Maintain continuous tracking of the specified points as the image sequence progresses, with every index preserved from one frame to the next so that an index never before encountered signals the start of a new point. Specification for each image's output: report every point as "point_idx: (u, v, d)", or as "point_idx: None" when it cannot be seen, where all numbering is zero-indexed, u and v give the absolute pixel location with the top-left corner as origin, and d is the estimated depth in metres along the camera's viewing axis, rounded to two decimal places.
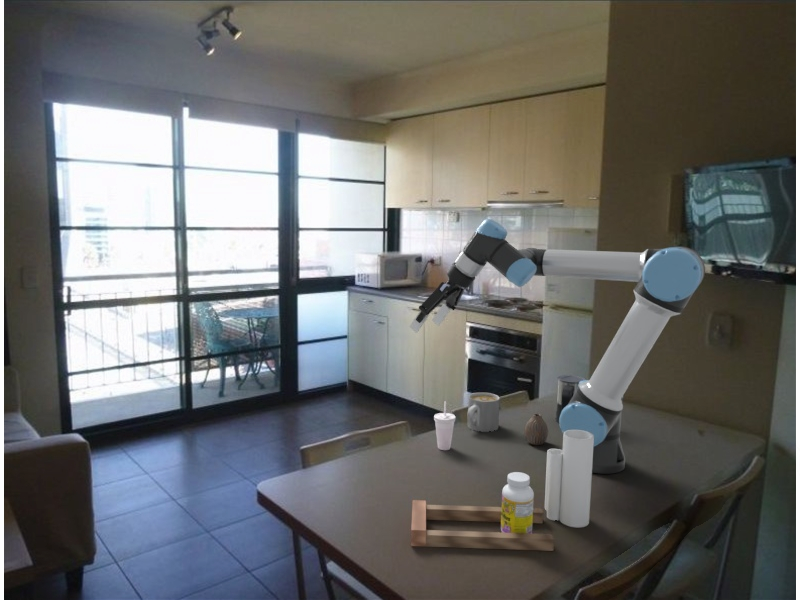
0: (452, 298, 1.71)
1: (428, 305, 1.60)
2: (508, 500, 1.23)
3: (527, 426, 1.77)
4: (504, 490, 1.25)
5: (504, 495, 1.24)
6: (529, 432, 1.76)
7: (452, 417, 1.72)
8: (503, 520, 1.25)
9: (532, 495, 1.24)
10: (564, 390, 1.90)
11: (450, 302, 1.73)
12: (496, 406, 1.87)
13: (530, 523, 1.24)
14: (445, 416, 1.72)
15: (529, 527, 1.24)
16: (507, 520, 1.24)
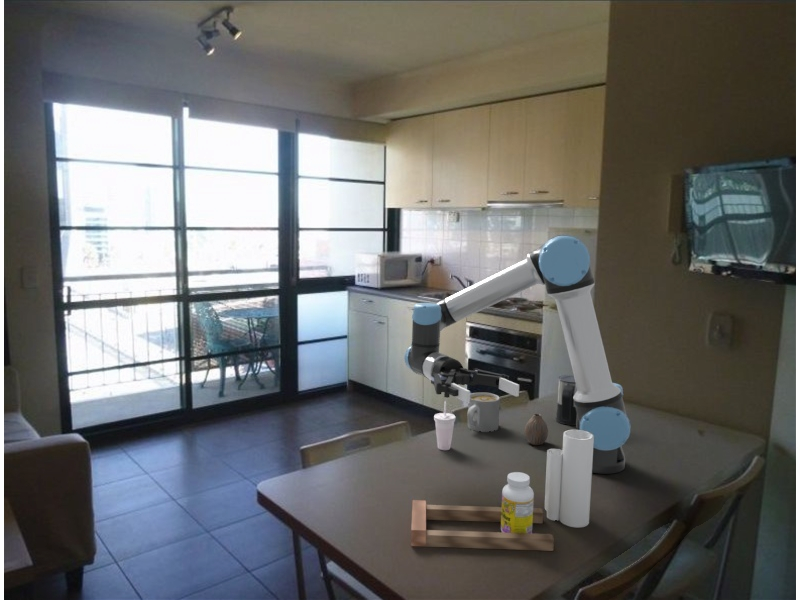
0: (480, 376, 1.43)
1: None
2: (508, 500, 1.23)
3: (527, 426, 1.77)
4: (504, 490, 1.25)
5: (504, 495, 1.24)
6: (529, 432, 1.76)
7: (452, 417, 1.72)
8: (503, 520, 1.25)
9: (532, 495, 1.24)
10: (564, 390, 1.90)
11: (491, 379, 1.42)
12: (496, 406, 1.87)
13: (530, 523, 1.24)
14: (445, 416, 1.72)
15: (529, 527, 1.24)
16: (507, 520, 1.24)
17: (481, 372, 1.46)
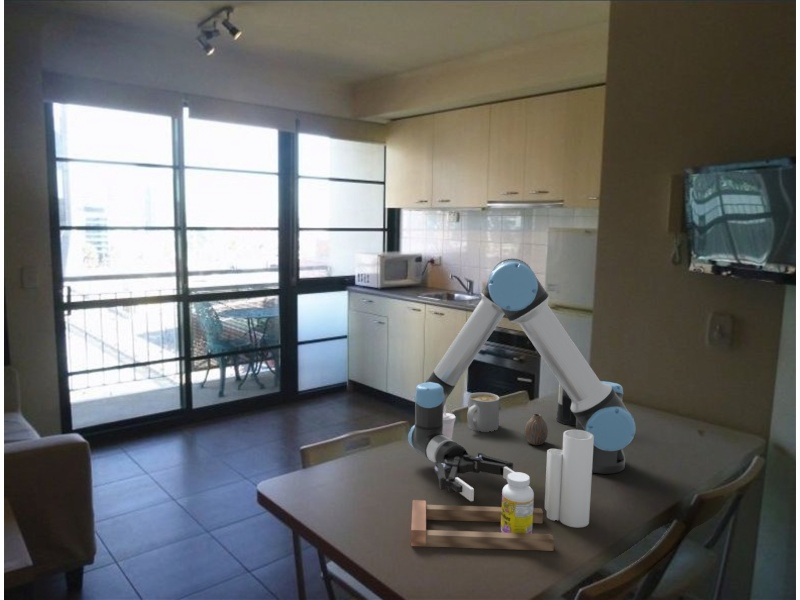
0: (484, 464, 1.42)
1: (439, 477, 1.35)
2: (508, 500, 1.23)
3: (527, 426, 1.77)
4: (504, 490, 1.25)
5: (504, 495, 1.24)
6: (529, 432, 1.76)
7: (452, 417, 1.72)
8: (503, 520, 1.25)
9: (532, 495, 1.24)
10: None
11: (495, 467, 1.41)
12: (496, 406, 1.87)
13: (530, 523, 1.24)
14: (445, 416, 1.72)
15: (529, 527, 1.24)
16: (507, 520, 1.24)
17: (485, 458, 1.45)
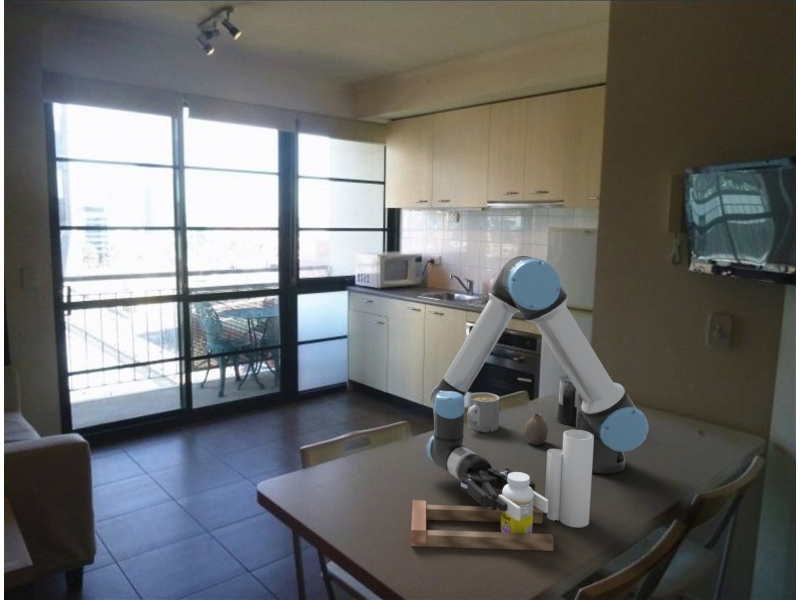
0: (506, 482, 1.32)
1: (478, 495, 1.26)
2: None
3: (527, 426, 1.77)
4: (504, 490, 1.25)
5: (504, 495, 1.24)
6: (529, 432, 1.76)
7: None
8: (503, 520, 1.25)
9: (532, 495, 1.24)
10: (565, 390, 1.90)
11: None
12: (496, 406, 1.87)
13: (530, 523, 1.24)
14: None
15: (529, 527, 1.24)
16: (507, 520, 1.24)
17: None
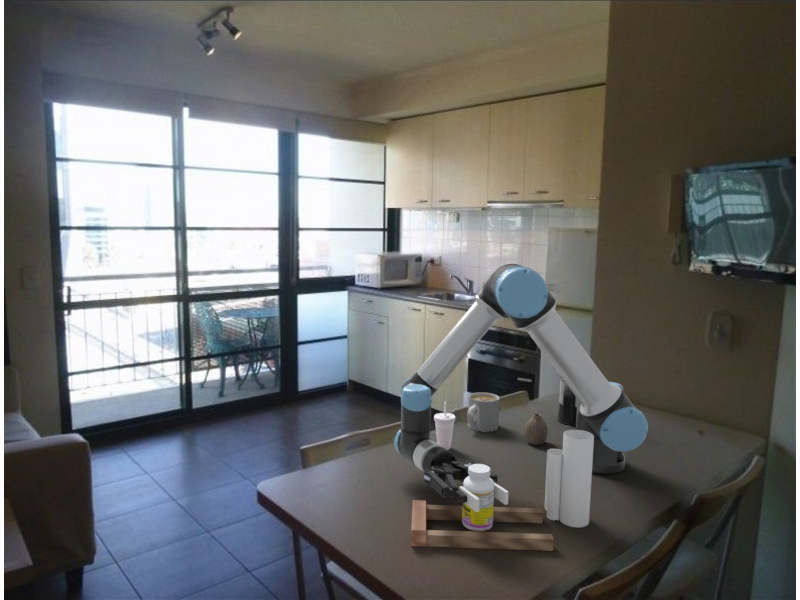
0: None
1: (439, 487, 1.27)
2: None
3: (527, 426, 1.77)
4: (465, 482, 1.25)
5: (465, 486, 1.24)
6: (529, 432, 1.76)
7: (452, 417, 1.72)
8: (463, 511, 1.25)
9: (492, 487, 1.24)
10: (566, 390, 1.90)
11: None
12: (496, 406, 1.87)
13: (490, 515, 1.24)
14: (445, 416, 1.72)
15: (489, 519, 1.24)
16: (467, 511, 1.24)
17: None
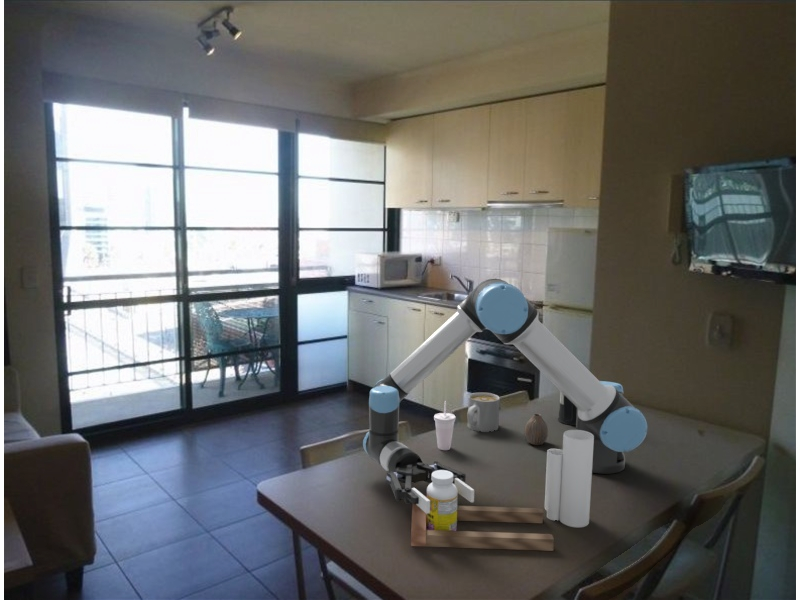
0: None
1: (394, 488, 1.27)
2: (431, 497, 1.24)
3: (527, 426, 1.77)
4: (428, 488, 1.25)
5: (428, 493, 1.25)
6: (529, 432, 1.76)
7: (452, 417, 1.72)
8: (427, 518, 1.26)
9: (455, 493, 1.24)
10: None
11: None
12: (496, 406, 1.87)
13: (453, 520, 1.25)
14: (445, 416, 1.72)
15: (452, 524, 1.25)
16: (431, 518, 1.24)
17: (439, 467, 1.37)
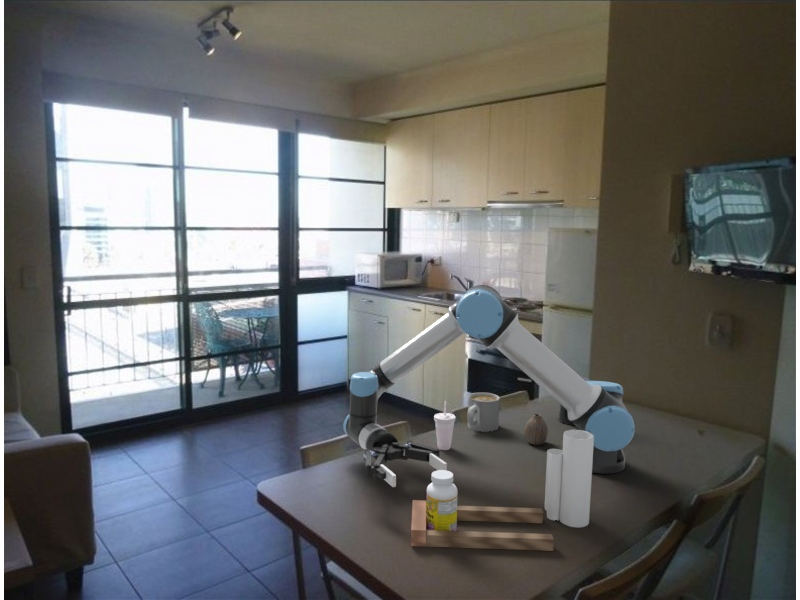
0: (412, 451, 1.46)
1: None
2: (431, 497, 1.24)
3: (527, 426, 1.77)
4: (428, 488, 1.25)
5: (428, 493, 1.25)
6: (529, 432, 1.76)
7: (452, 417, 1.72)
8: (427, 518, 1.26)
9: (455, 493, 1.24)
10: None
11: (422, 454, 1.45)
12: (496, 406, 1.87)
13: (453, 520, 1.25)
14: (445, 416, 1.72)
15: (452, 524, 1.25)
16: (430, 518, 1.24)
17: (414, 445, 1.49)
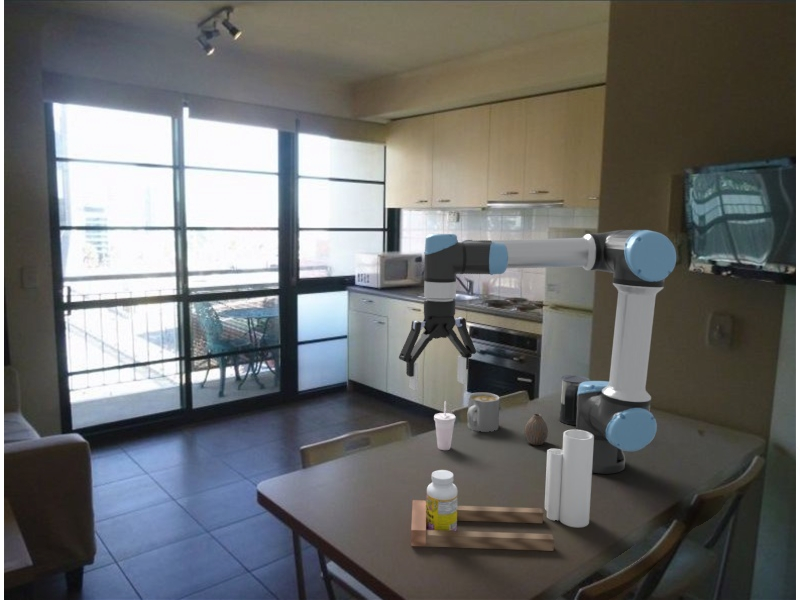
0: (454, 341, 1.42)
1: (405, 350, 1.37)
2: (431, 497, 1.24)
3: (527, 426, 1.77)
4: (428, 488, 1.25)
5: (428, 493, 1.25)
6: (529, 432, 1.76)
7: (452, 417, 1.72)
8: (427, 518, 1.26)
9: (455, 493, 1.24)
10: (567, 390, 1.90)
11: (459, 349, 1.44)
12: (496, 406, 1.87)
13: (453, 520, 1.25)
14: (445, 416, 1.72)
15: (452, 524, 1.25)
16: (431, 518, 1.24)
17: (462, 330, 1.43)
